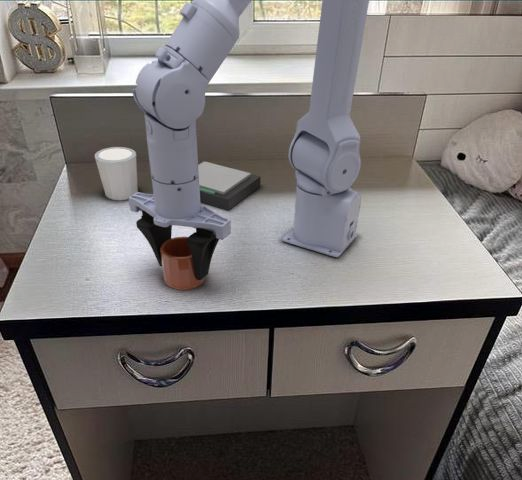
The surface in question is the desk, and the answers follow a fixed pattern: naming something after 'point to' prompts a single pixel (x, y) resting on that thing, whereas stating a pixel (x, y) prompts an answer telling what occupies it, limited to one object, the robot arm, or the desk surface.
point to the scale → (224, 185)
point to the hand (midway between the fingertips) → (183, 269)
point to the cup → (178, 264)
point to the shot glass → (117, 172)
